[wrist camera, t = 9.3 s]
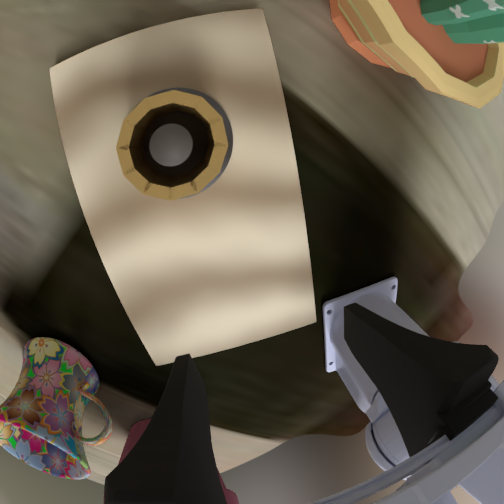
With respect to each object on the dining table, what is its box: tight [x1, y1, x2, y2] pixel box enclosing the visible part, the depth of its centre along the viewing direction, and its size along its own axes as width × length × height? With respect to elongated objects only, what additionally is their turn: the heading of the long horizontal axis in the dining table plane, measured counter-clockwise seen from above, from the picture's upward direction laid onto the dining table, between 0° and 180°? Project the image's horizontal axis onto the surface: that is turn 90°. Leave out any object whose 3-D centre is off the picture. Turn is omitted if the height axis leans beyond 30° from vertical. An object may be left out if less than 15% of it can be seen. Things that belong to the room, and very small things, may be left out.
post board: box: [49, 8, 316, 366], centre depth 16 cm, size 24×14×5 cm, turn 12°
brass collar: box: [116, 90, 228, 201], centre depth 13 cm, size 5×5×4 cm
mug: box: [0, 337, 113, 479], centre depth 17 cm, size 12×9×11 cm
